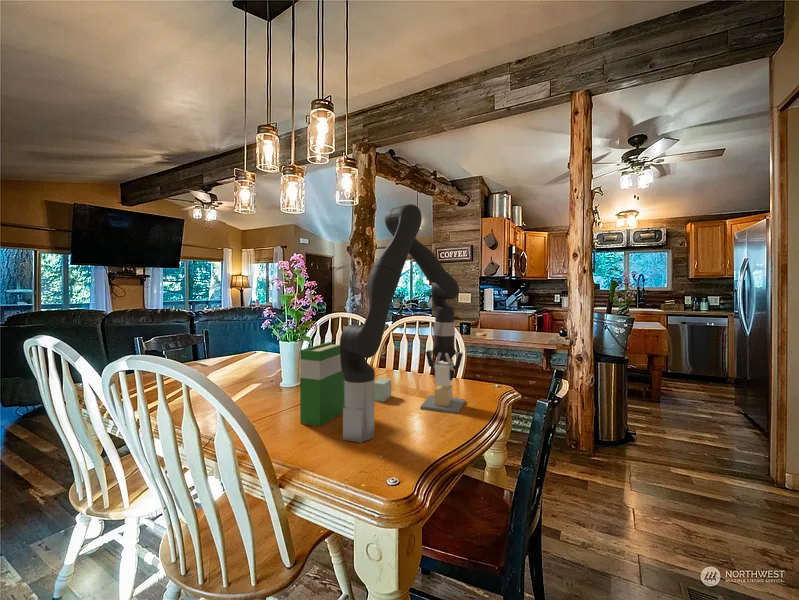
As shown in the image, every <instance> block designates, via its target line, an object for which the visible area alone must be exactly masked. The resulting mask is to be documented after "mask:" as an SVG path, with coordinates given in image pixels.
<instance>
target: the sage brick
mask: <svg viewBox="0 0 799 600" xmlns="http://www.w3.org/2000/svg"><path fill="white" fill-rule="evenodd" d="M391 397H392V378H385V377H384V378H383V377H378V378H377V379H375V402H382V403H383V402H386V401H387V400H388V399H389V398H391Z"/></svg>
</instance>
